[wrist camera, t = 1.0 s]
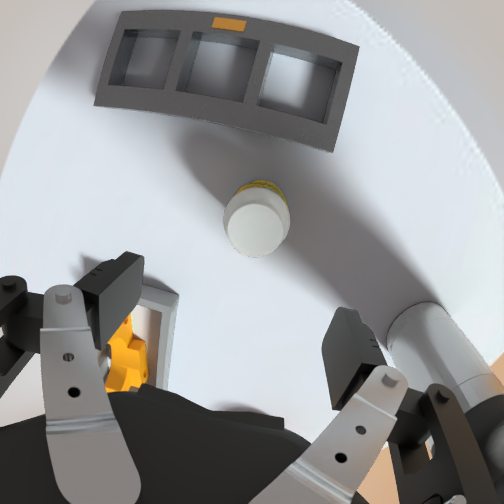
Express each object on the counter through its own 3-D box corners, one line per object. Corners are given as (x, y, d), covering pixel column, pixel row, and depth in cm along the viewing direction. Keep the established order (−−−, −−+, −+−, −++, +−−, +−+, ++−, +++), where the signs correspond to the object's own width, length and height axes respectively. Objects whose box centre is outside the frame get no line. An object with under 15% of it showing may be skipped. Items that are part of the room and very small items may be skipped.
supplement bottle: (228, 224, 31) (210, 257, 22) (239, 173, 29) (223, 185, 20) (279, 236, 31) (281, 273, 22) (292, 186, 29) (300, 203, 20)
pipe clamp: (149, 374, 40) (134, 404, 34) (123, 367, 40) (106, 395, 34) (142, 305, 36) (120, 334, 30) (112, 299, 36) (88, 325, 30)
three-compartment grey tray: (352, 55, 24) (360, 45, 21) (327, 152, 28) (333, 152, 25) (133, 20, 24) (121, 10, 21) (107, 108, 27) (92, 105, 24)
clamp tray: (179, 294, 34) (171, 307, 31) (166, 397, 41) (161, 410, 38) (99, 269, 34) (86, 279, 31) (103, 373, 41) (95, 385, 38)
